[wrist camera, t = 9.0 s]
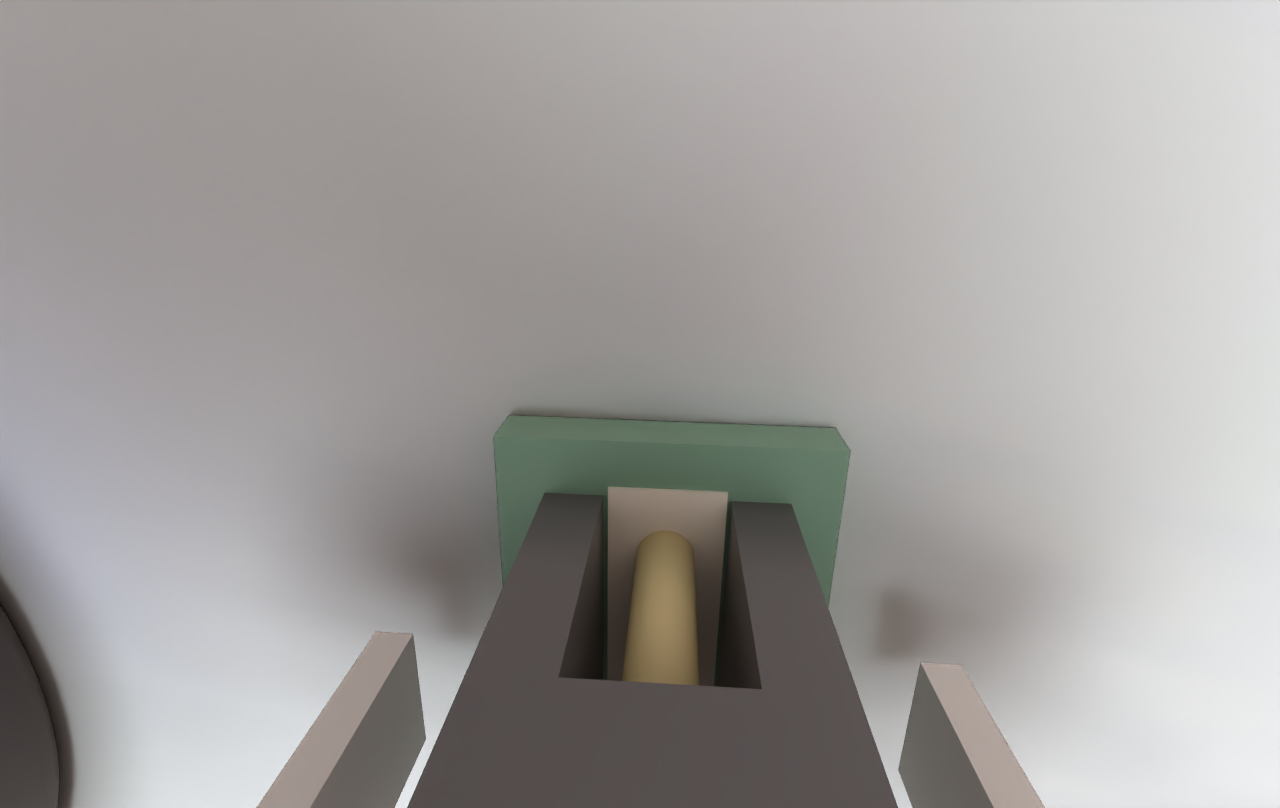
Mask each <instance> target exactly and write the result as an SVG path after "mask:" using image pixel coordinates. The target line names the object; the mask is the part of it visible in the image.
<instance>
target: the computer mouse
mask: <svg viewBox="0 0 1280 808" xmlns="http://www.w3.org/2000/svg"><path fill="white" fill-rule="evenodd" d="M58 797H59V764H58V755H57V746H56V741H55V736H54V731H53V726H52V723H51V719H50V715H49V711H48V707H47V704H46V701H45V698H44V695H43V692H42V689H41V687H40V684H39V681H38V679H37V676H36V674H35V671H34V669H33V667H32V665H31V663H30V660H29V658H28V656H27V654H26V651H25V649H24V647H23V645H22V643H21V641H20V640H19V638H18V636H17V634H16V632H15V630H14V628H13V626H12V624H11V622H10V621H9V619H8V617H7V616H6V614H5V612H4V611H3V609H2V607H1V606H0V808H57V807H58Z"/></svg>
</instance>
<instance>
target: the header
mask: <svg viewBox="0 0 1280 808" xmlns="http://www.w3.org/2000/svg"><path fill="white" fill-rule="evenodd" d="M493 438H494V454H495V470H496V486H497V502H498V517H499V533H500V549H501V565H502V581H503V587H504V584H505V582H506V580H507V578H508V575H509V573H510V571H511V568H512V566H513V564H514V561H515V559H516V557H517V555H518V552H519V550H520V548H521V545H522V543H523V541H524V539H525V536H526V534H527V532H528V529H529V527H530V525H531V522H532V520H533V518H534V516H535V513H536V511H537V509H538V506H539V504H540V502H541V500H542V497H543V495H544V493H562V494H585V495H603V680H612V681H629V682H646V683H663V684H679V685H696V686H713V687H717V684H718V671H719V658H720V644H721V631H722V618H723V604H724V591H725V578H726V565H727V551H728V538H729V525H730V511H731V501H741V502H764V503H786V504H792V507H793V510H794V512H795V515H796V518H797V521H798V524H799V527H800V530H801V532H802V535H803V538H804V541H805V544H806V547H807V550H808V552H809V555H810V558H811V561H812V564H813V567H814V570H815V572H816V575H817V578H818V581H819V584H820V587H821V590H822V592H823V595H824V598H825V601H826V604H827V607H828V605H829V598H830V591H831V584H832V577H833V570H834V563H835V556H836V549H837V542H838V535H839V528H840V521H841V514H842V507H843V500H844V493H845V486H846V479H847V472H848V465H849V458H850V449H849V448H848V446H847V444H846V443H845V441H844V440H843V438H842V437H841V435H840V434H839V432H838V430H837V429H836V428H824V427H799V426H773V425H747V424H722V423H696V422H670V421H645V420H619V419H593V418H567V417H542V416H516V415H509V416H508V417H507V418H506V420H505V421H504V422H503V424H502V425H501V427H500V428H499V429H498V431H497V432H496V433H495V435H494V436H493Z"/></svg>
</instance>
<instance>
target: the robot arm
mask: <svg viewBox="0 0 1280 808" xmlns="http://www.w3.org/2000/svg"><path fill="white" fill-rule="evenodd" d="M425 740H426V736H425V727H424V719H423V711H422V703H421V695H420V687H419V679H418V671H417V662H416V654H415V646H414V638H413V634H409V633H391V632H375V633H374V635H373V636H372V638H371V639H370V641H369V642H368V644H367V645H366V647H365V648H364V650H363V651H362V653H361V654H360V656H359V657H358V659H357V660H356V661H355V663H354V664H353V666H352V667H351V669H350V670H349V672H348V673H347V675H346V676H345V678H344V679H343V681H342V682H341V684H340V685H339V687H338V688H337V690H336V691H335V692H334V694H333V695H332V697H331V698H330V700H329V701H328V703H327V704H326V706H325V707H324V709H323V710H322V712H321V713H320V715H319V716H318V718H317V719H316V721H315V722H314V724H313V725H312V726H311V728H310V729H309V731H308V732H307V734H306V735H305V737H304V738H303V740H302V741H301V743H300V744H299V746H298V747H297V749H296V750H295V752H294V753H293V755H292V756H291V757H290V759H289V760H288V762H287V763H286V765H285V766H284V768H283V769H282V771H281V772H280V774H279V775H278V777H277V778H276V780H275V781H274V783H273V784H272V786H271V787H270V788H269V790H268V791H267V793H266V794H265V796H264V797H263V799H262V800H261V802H260V803H259V805H258V806H257V808H395V805H396V803H397V801H398V799H399V797H400V794H401V792H402V790H403V788H404V786H405V783H406V781H407V779H408V777H409V775H410V772H411V770H412V768H413V766H414V764H415V761H416V759H417V757H418V755H419V753H420V751H421V748H422V746H423V744H424V742H425ZM898 770H899V772H900V775H901V778H902V780H903V783H904V786H905V789H906V791H907V794H908V797H909V799H910V802H911V805H912V807H913V808H1045V807H1044V805H1043V804H1042V802H1041V800H1040V799H1039V797H1038V795H1037V793H1036V792H1035V790H1034V788H1033V787H1032V785H1031V783H1030V781H1029V780H1028V778H1027V776H1026V775H1025V773H1024V771H1023V769H1022V768H1021V766H1020V764H1019V763H1018V761H1017V759H1016V758H1015V756H1014V754H1013V752H1012V751H1011V749H1010V747H1009V746H1008V744H1007V742H1006V740H1005V739H1004V737H1003V735H1002V734H1001V732H1000V730H999V729H998V727H997V725H996V723H995V722H994V720H993V718H992V717H991V715H990V713H989V711H988V710H987V708H986V706H985V705H984V703H983V701H982V700H981V698H980V696H979V694H978V693H977V691H976V689H975V688H974V686H973V684H972V682H971V681H970V679H969V677H968V676H967V674H966V672H965V670H964V669H963V667H962V665H956V664H939V663H920V668H919V673H918V677H917V682H916V687H915V692H914V697H913V701H912V706H911V711H910V716H909V721H908V725H907V730H906V735H905V740H904V745H903V749H902V754H901V759H900V764H899V769H898Z"/></svg>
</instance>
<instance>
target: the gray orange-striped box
mask: <svg viewBox="0 0 1280 808" xmlns="http://www.w3.org/2000/svg"><path fill="white" fill-rule="evenodd" d="M407 808H898V806H897V804H896V801H895V798H894V795H893V792H892V789H891V786H890V784H889V781H888V778H887V775H886V772H885V769H884V766H883V764H882V761H881V758H880V755H879V752H878V749H877V747H876V744H875V741H874V738H873V735H872V732H871V729H870V727H869V724H868V721H867V718H866V715H865V712H864V709H863V707H862V704H861V701H860V698H859V695H858V692H857V689H856V687H855V684H854V681H853V678H852V675H851V672H850V669H849V667H848V664H847V661H846V658H845V655H844V652H843V649H842V647H841V644H840V641H839V638H838V635H837V632H836V629H835V627H834V624H833V621H832V618H831V615H830V612H829V610H828V607H827V604H826V601H825V598H824V595H823V592H822V590H821V587H820V584H819V581H818V578H817V575H816V572H815V570H814V567H813V564H812V561H811V558H810V555H809V552H808V550H807V547H806V544H805V541H804V538H803V535H802V532H801V530H800V527H799V524H798V521H797V518H796V515H795V512H794V510H793V507H792V504H786V503H764V502H741V501H731V511H730V525H729V538H728V551H727V565H726V578H725V591H724V604H723V618H722V631H721V644H720V658H719V671H718V684H717V687H713V686H696V685H679V684H663V683H646V682H629V681H612V680H603V495H585V494H562V493H544V495H543V497H542V500H541V502H540V504H539V506H538V509H537V511H536V513H535V516H534V518H533V520H532V522H531V525H530V527H529V529H528V532H527V534H526V536H525V539H524V541H523V543H522V545H521V548H520V550H519V552H518V555H517V557H516V559H515V561H514V564H513V566H512V568H511V571H510V573H509V575H508V578H507V580H506V582H505V584H504V587H503V589H502V591H501V594H500V596H499V598H498V600H497V603H496V605H495V607H494V610H493V612H492V614H491V617H490V619H489V621H488V623H487V626H486V628H485V630H484V633H483V635H482V637H481V640H480V642H479V644H478V646H477V649H476V651H475V653H474V656H473V658H472V660H471V662H470V665H469V667H468V669H467V672H466V674H465V676H464V679H463V681H462V683H461V685H460V688H459V690H458V692H457V695H456V697H455V699H454V701H453V704H452V706H451V708H450V711H449V713H448V715H447V718H446V720H445V722H444V724H443V727H442V729H441V731H440V734H439V736H438V738H437V740H436V743H435V745H434V747H433V750H432V752H431V754H430V757H429V759H428V761H427V763H426V766H425V768H424V770H423V773H422V775H421V777H420V780H419V782H418V784H417V786H416V789H415V791H414V793H413V796H412V798H411V800H410V802H409V805H408V807H407Z"/></svg>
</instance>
